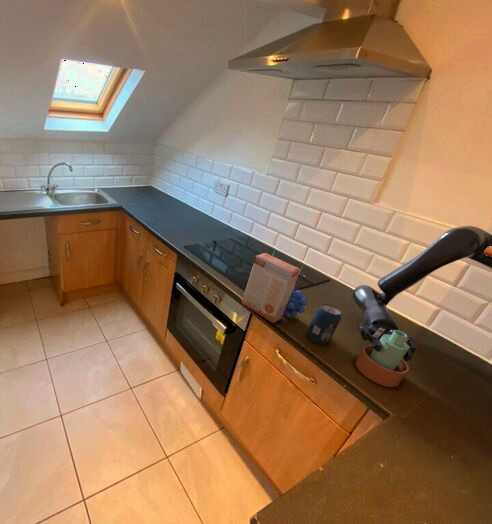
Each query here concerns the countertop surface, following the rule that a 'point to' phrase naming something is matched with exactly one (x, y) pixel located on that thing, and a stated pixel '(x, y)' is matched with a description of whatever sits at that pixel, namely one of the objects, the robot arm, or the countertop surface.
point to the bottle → (390, 350)
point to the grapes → (295, 304)
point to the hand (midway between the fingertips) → (393, 353)
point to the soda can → (324, 323)
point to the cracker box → (270, 286)
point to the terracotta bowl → (380, 369)
